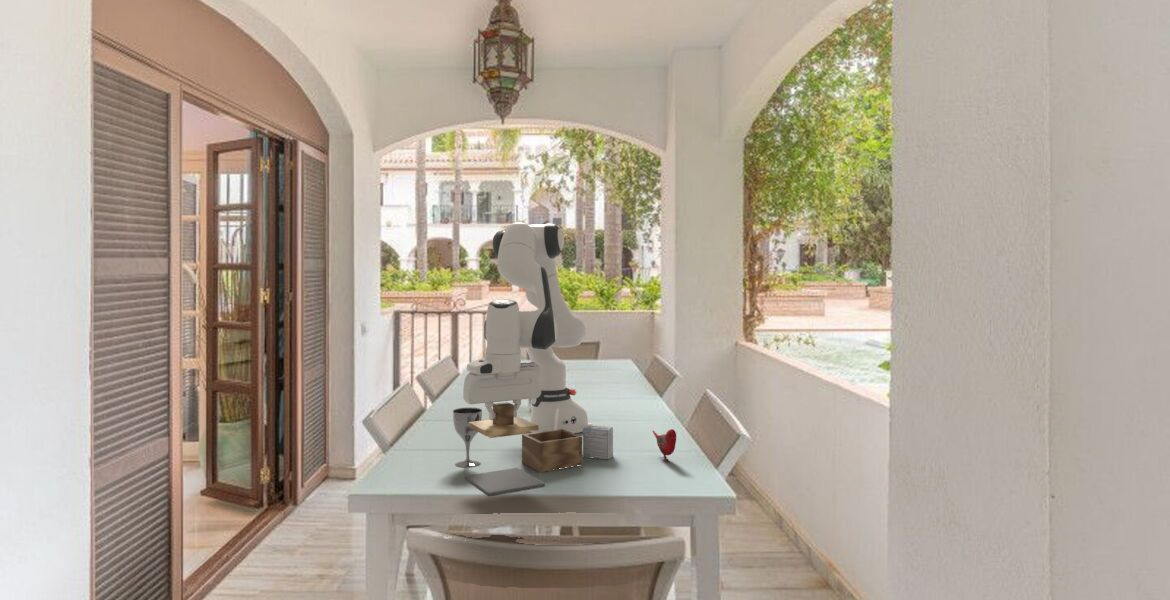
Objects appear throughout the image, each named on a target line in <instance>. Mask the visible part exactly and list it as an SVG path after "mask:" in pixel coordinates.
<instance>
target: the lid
mask: <svg viewBox="0 0 1170 600" xmlns="http://www.w3.org/2000/svg"><path fill="white" fill-rule="evenodd" d="M492 410H493V412H496V413H497V419H496V420H490V419H486V420H483V419H482V421H474V422H468V427H470V428H472V429H474V430H476V431H477V432H478V433H480V434H481V435H484V437H487V438H490V439H494V438H502V437H511V436H519V435H522V434H529V433H530V432H529V431H536V430H539V425H536V424H534V423H532V422H530V420H527V419H525V418H523V417H519V416H517V417H515V418H514V403H510V402H508V401H503V402H493V407H492Z"/></svg>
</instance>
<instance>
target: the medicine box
mask: <svg viewBox="0 0 1170 600" xmlns="http://www.w3.org/2000/svg"><path fill="white" fill-rule="evenodd" d="M593 425H594V424H593ZM593 425H588V426H586V427H584V428H583V432H582V458H584V457H593V458H592V459H596V458H601V459H600V460H607V459H609V460H610V459H611V458H612V457H613V456H614V427H613V426H605V425H594V426H593Z"/></svg>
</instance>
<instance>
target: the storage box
mask: <svg viewBox="0 0 1170 600" xmlns="http://www.w3.org/2000/svg"><path fill="white" fill-rule="evenodd" d="M521 463H522V464H523V463H524V465H525V464H526V465H525V466H527V465H528V466H527V467H529V466H530V467H531V469H532V468H533V470H534V469H535V470H534V471H536V470H537V471H536V472H538V471H539V472H542V473H545V472H544V471H548V472H550V471H549V470H553V469H559V468H565V467H571V466H577V465H582V466H583V436H582V435H581V436H580V435H578V434H577V433H571V432H569V431H566V430H564V429H559V430H552V431H544V432H537V433H531V432H529V433H528V434H521ZM530 467H529V468H530ZM539 472H538V473H539Z"/></svg>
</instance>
